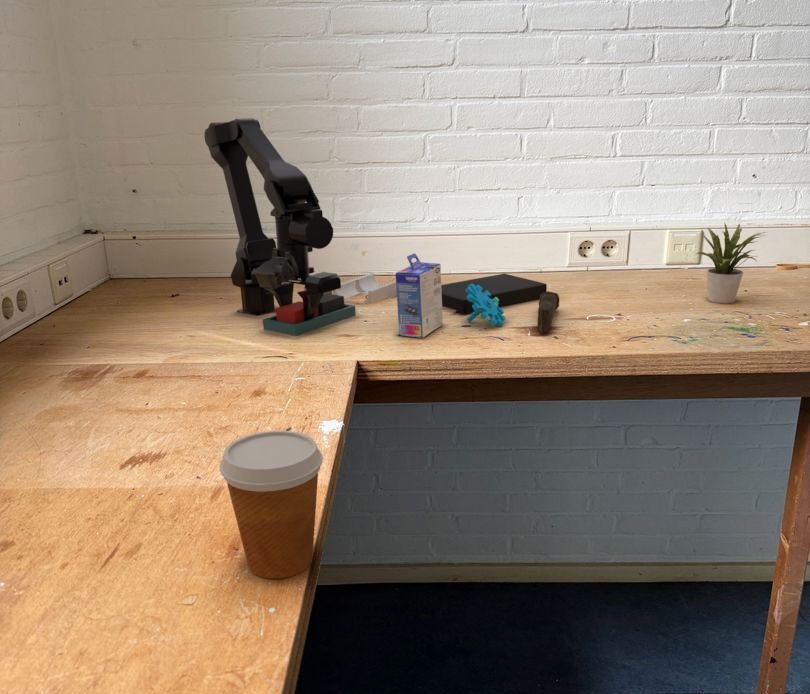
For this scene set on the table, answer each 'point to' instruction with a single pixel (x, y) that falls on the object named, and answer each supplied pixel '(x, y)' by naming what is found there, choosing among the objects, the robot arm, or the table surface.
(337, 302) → the dark grey block
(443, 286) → the external hard drive
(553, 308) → the hand tool
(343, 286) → the skate ramp
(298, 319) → the red rectangular block
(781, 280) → the table surface
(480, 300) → the blue coral piece
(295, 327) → the tray
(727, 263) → the house plant
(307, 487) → the disposable coffee cup
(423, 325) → the ink cartridge box
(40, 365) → the table surface
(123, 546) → the table surface
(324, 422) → the table surface
